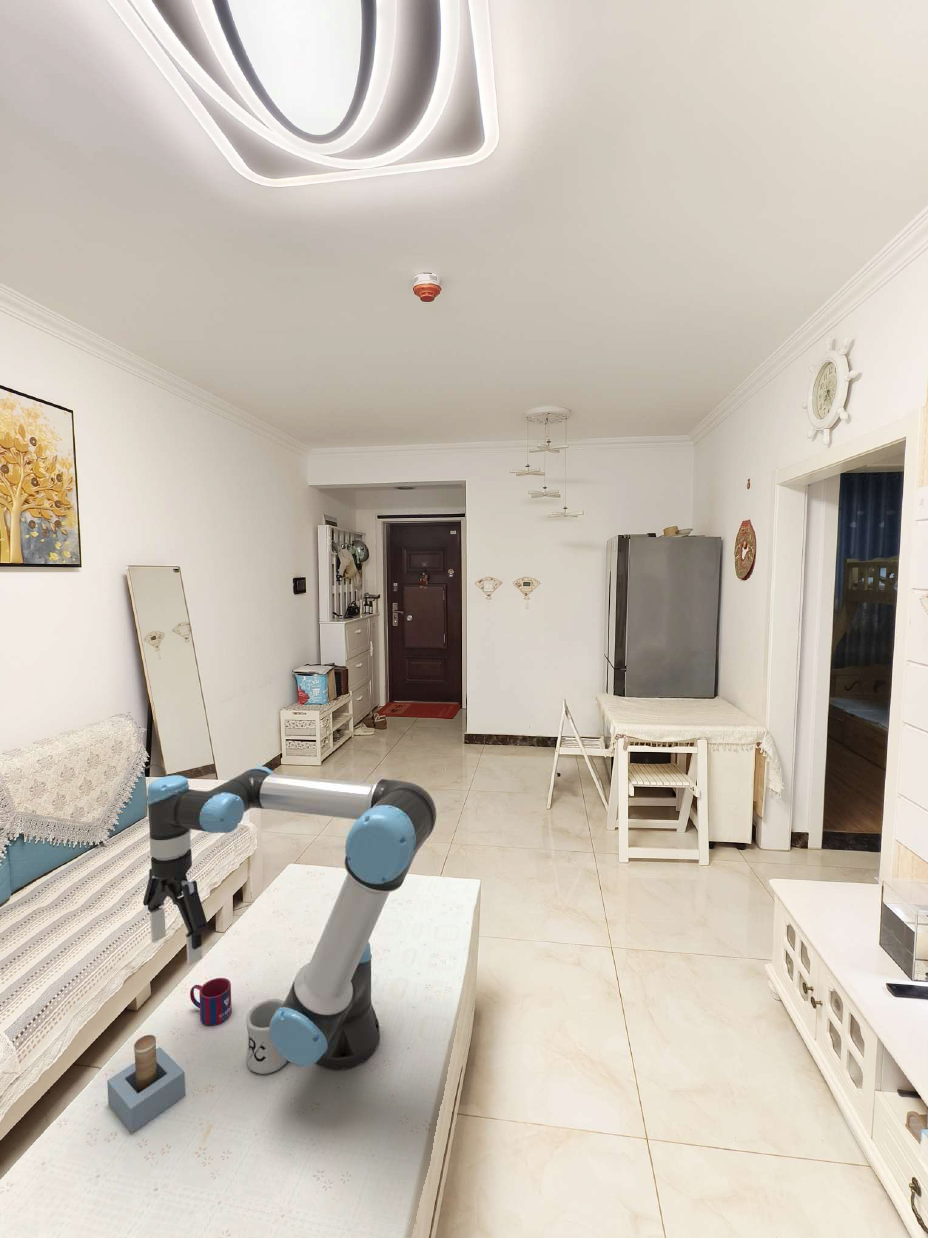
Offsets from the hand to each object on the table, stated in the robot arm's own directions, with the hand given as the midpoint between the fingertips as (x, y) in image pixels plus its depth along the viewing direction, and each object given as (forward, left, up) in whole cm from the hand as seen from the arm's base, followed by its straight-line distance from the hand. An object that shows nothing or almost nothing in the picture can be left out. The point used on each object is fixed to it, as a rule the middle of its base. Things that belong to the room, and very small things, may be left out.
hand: (176, 950), depth 122 cm
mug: (-17, -12, -24) cm, 32 cm away
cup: (+7, -10, -24) cm, 27 cm away
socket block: (-5, +9, -24) cm, 26 cm away
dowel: (-5, +9, -24) cm, 26 cm away
